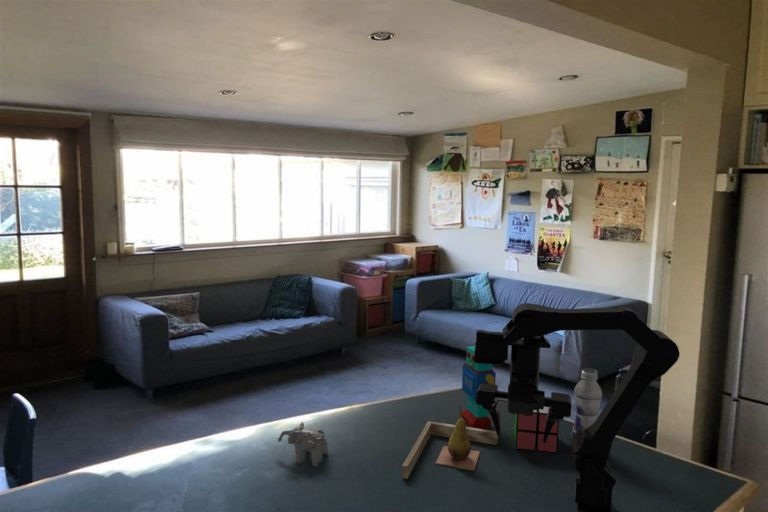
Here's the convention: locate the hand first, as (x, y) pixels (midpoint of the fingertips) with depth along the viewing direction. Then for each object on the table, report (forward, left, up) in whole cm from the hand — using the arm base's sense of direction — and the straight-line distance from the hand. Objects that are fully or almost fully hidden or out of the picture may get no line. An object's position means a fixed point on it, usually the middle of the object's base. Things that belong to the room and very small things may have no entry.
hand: (521, 438), depth 114 cm
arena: (+16, -11, -13) cm, 23 cm away
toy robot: (+14, -33, -13) cm, 38 cm away
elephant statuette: (+50, +1, -13) cm, 52 cm away
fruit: (+15, -12, -13) cm, 23 cm away
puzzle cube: (-2, -27, -13) cm, 30 cm away
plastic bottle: (-14, -28, -13) cm, 34 cm away
